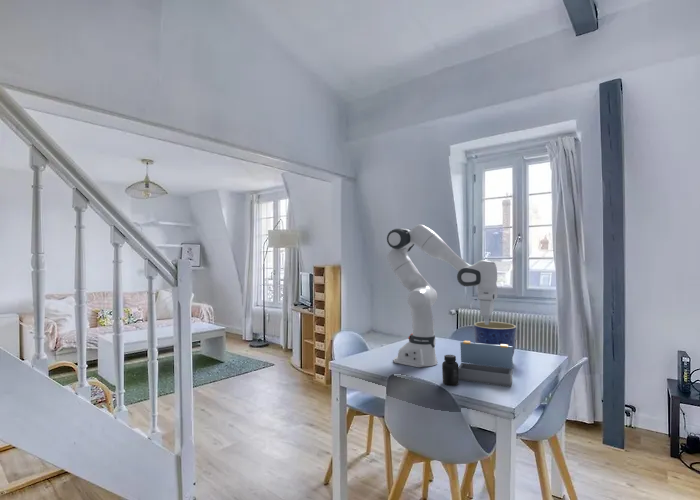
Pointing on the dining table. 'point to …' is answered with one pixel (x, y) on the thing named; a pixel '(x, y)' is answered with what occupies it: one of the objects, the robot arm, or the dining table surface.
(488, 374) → the grey rectangular open box
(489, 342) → the planter
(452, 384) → the supplement bottle
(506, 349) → the cover
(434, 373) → the dining table surface
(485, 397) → the dining table surface
